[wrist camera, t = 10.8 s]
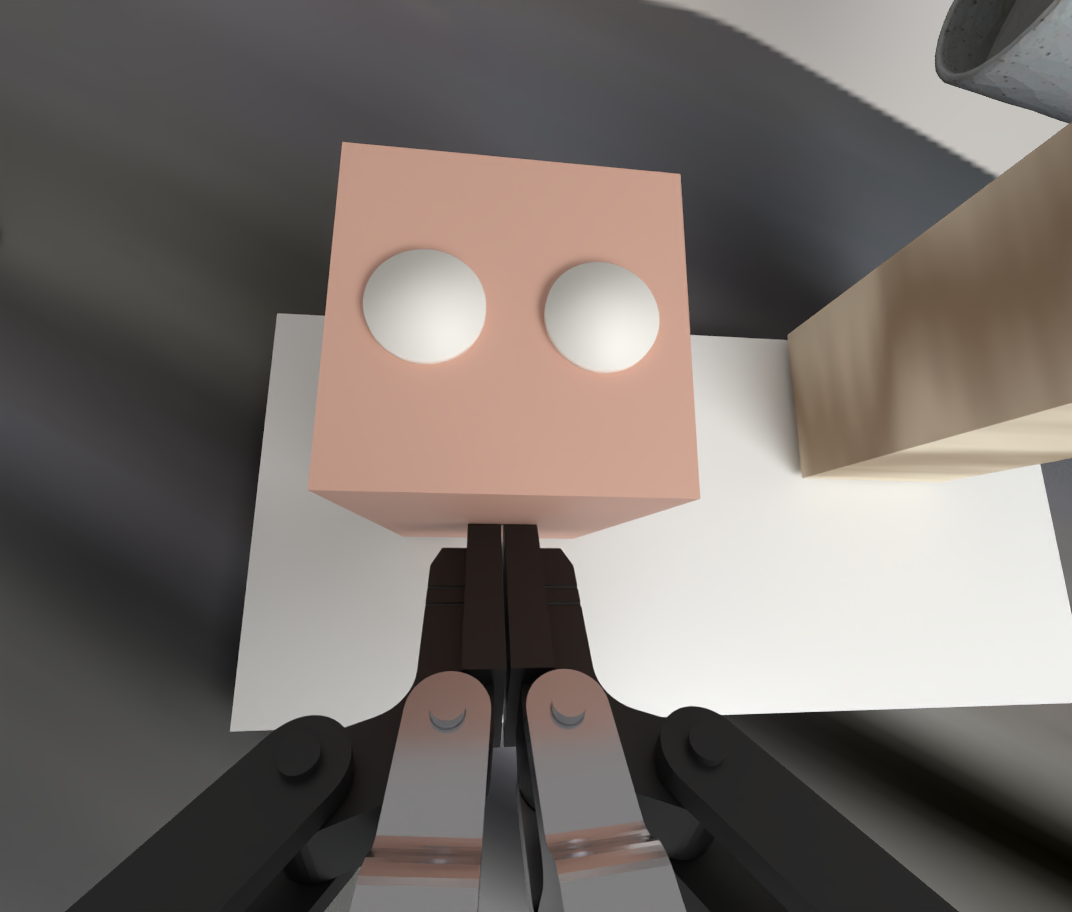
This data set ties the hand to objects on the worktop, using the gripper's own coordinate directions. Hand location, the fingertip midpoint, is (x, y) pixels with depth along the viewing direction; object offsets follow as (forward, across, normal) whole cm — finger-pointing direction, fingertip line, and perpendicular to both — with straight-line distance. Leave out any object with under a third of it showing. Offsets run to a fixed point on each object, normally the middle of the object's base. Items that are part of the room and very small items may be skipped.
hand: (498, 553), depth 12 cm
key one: (+6, -12, -1) cm, 14 cm away
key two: (+5, 0, 0) cm, 5 cm away
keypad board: (+5, -6, +3) cm, 8 cm away
